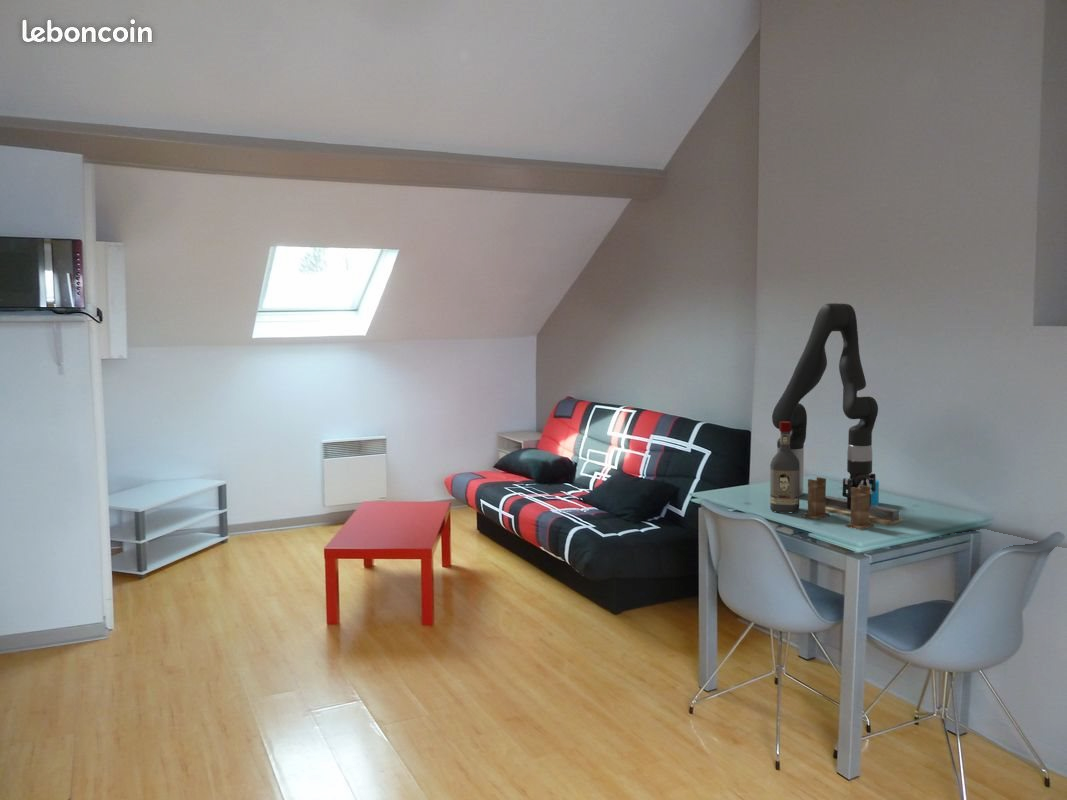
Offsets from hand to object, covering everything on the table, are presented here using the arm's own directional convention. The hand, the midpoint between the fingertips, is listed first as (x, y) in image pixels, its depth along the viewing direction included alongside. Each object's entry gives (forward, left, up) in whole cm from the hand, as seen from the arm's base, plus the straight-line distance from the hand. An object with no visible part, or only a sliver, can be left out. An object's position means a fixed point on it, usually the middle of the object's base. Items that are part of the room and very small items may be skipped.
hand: (859, 507), depth 269 cm
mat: (0, 0, -3) cm, 3 cm away
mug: (-10, +16, -3) cm, 19 cm away
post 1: (-8, -11, -3) cm, 14 cm away
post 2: (+8, -11, -3) cm, 14 cm away
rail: (0, 0, -2) cm, 2 cm away
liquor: (-20, -12, -3) cm, 24 cm away
